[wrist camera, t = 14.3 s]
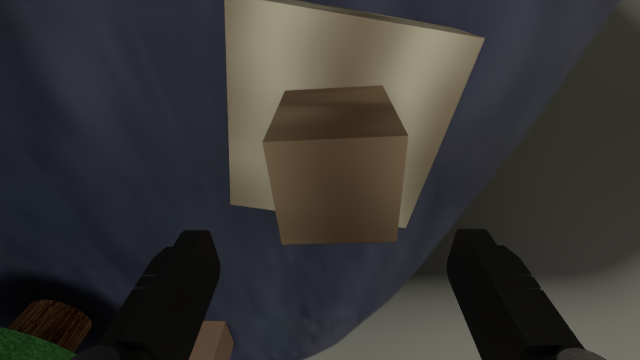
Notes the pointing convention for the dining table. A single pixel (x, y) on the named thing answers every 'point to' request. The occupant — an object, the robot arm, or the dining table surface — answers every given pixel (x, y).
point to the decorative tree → (44, 332)
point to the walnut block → (336, 165)
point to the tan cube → (213, 342)
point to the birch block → (338, 79)
